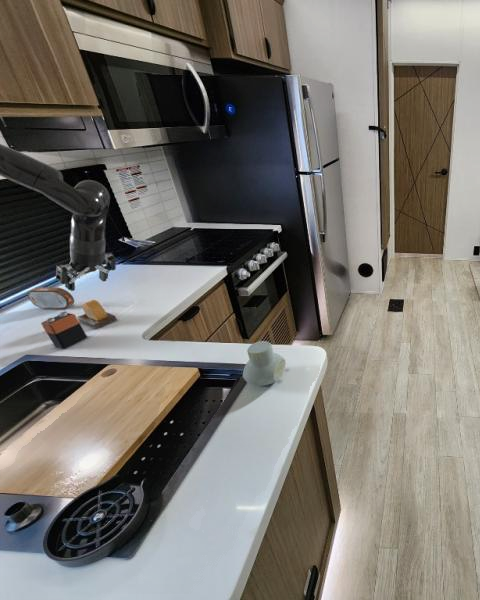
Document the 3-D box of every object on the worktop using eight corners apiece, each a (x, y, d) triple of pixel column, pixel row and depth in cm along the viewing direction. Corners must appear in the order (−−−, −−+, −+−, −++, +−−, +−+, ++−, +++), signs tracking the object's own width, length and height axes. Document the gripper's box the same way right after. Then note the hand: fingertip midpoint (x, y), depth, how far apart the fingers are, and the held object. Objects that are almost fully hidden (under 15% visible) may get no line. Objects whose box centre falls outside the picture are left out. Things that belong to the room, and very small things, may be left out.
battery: (88, 337, 108) (73, 311, 103) (64, 349, 102) (47, 322, 97) (79, 335, 109) (64, 309, 104) (54, 347, 103) (38, 320, 98)
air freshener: (262, 363, 94) (254, 334, 89) (289, 365, 93) (283, 335, 89) (242, 390, 84) (232, 359, 80) (273, 392, 84) (264, 361, 79)
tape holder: (96, 329, 112) (93, 324, 111) (79, 321, 117) (76, 316, 116) (117, 320, 117) (115, 315, 116) (100, 313, 122) (98, 308, 121)
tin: (78, 306, 128) (68, 286, 124) (71, 309, 125) (60, 290, 121) (41, 306, 128) (29, 286, 124) (33, 310, 126) (21, 290, 122)
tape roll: (100, 328, 115) (93, 310, 110) (86, 317, 117) (79, 299, 112) (110, 323, 117) (104, 306, 113) (96, 313, 119) (89, 296, 115)
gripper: (106, 232, 102) (104, 269, 111) (47, 243, 90) (50, 284, 99) (123, 247, 102) (120, 284, 110) (67, 260, 90) (68, 300, 98)
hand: (87, 284), depth 104 cm, fingers open, 8 cm apart
